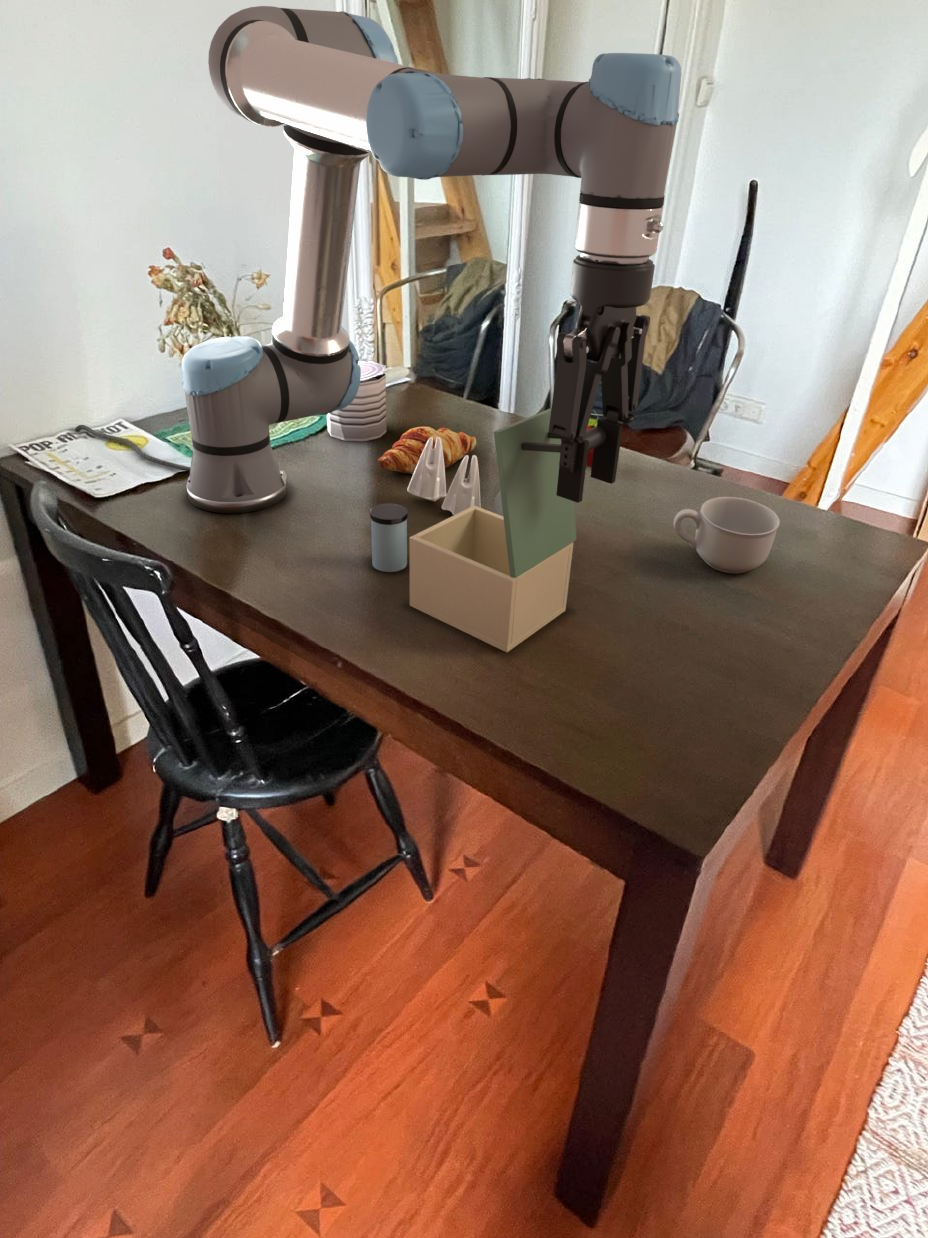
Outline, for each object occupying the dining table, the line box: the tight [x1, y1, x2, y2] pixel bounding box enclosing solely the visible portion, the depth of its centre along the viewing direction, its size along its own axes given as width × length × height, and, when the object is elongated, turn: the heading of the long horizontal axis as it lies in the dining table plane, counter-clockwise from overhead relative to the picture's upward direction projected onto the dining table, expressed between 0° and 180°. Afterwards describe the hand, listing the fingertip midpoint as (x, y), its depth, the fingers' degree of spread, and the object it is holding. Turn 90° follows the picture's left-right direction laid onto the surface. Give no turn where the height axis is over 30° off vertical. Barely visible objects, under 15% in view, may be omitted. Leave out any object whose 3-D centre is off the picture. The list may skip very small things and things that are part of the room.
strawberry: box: [586, 410, 600, 468], centre depth 145 cm, size 6×8×10 cm
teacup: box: [672, 496, 781, 574], centre depth 117 cm, size 14×11×8 cm
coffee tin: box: [369, 502, 409, 573], centre depth 113 cm, size 5×5×8 cm
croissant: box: [377, 426, 477, 475], centre depth 144 cm, size 21×10×8 cm, turn 131°
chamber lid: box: [493, 407, 606, 578], centre depth 91 cm, size 16×13×8 cm
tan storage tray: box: [409, 506, 574, 653], centre depth 103 cm, size 16×13×10 cm
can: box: [326, 360, 387, 442], centre depth 155 cm, size 11×11×12 cm
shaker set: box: [407, 437, 482, 516], centre depth 128 cm, size 12×4×11 cm, turn 57°
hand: (586, 488), depth 89 cm, fingers closed on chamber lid, 6 cm apart
